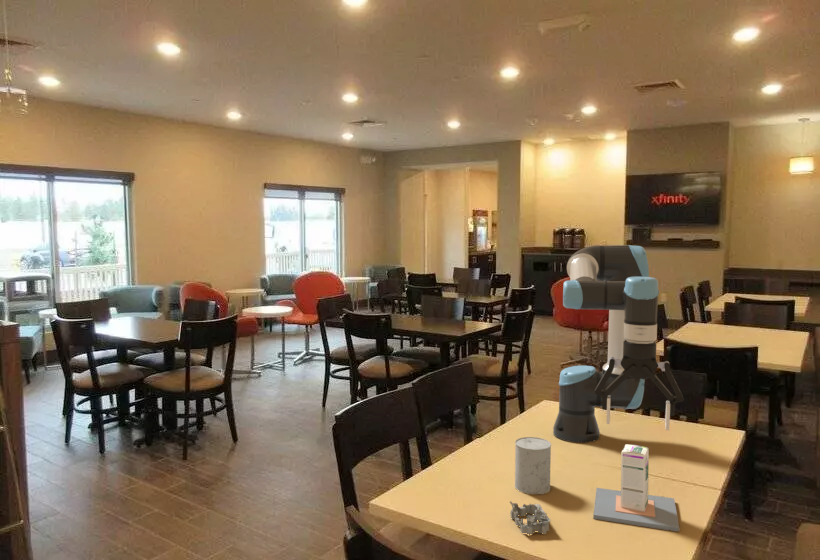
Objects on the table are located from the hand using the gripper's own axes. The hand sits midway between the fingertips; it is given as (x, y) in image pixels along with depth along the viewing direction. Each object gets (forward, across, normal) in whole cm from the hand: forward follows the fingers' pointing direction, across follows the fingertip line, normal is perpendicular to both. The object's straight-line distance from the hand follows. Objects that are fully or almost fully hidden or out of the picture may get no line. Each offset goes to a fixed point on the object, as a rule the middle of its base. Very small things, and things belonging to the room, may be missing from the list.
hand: (637, 425), depth 146 cm
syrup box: (+20, 0, 0) cm, 21 cm away
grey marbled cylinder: (+22, -26, +4) cm, 34 cm away
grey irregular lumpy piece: (+22, -24, -16) cm, 36 cm away
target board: (+22, 0, 0) cm, 22 cm away
